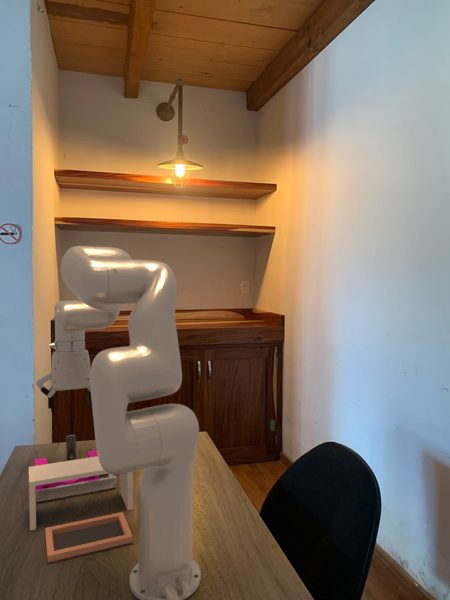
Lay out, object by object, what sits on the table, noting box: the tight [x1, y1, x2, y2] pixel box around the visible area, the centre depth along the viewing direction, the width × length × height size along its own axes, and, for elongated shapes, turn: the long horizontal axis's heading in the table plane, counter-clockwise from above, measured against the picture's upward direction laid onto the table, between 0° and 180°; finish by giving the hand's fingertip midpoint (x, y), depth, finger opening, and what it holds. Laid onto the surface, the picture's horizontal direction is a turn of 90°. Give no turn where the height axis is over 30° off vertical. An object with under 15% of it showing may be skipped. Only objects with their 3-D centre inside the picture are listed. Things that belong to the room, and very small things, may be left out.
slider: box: [35, 434, 118, 503], centre depth 118 cm, size 18×19×8 cm
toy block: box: [34, 449, 100, 500], centre depth 114 cm, size 15×6×8 cm, turn 115°
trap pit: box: [44, 511, 134, 565], centre depth 92 cm, size 10×16×2 cm, turn 114°
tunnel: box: [28, 456, 134, 531], centre depth 103 cm, size 8×22×10 cm, turn 114°
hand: (71, 408), depth 123 cm, fingers open, 9 cm apart
